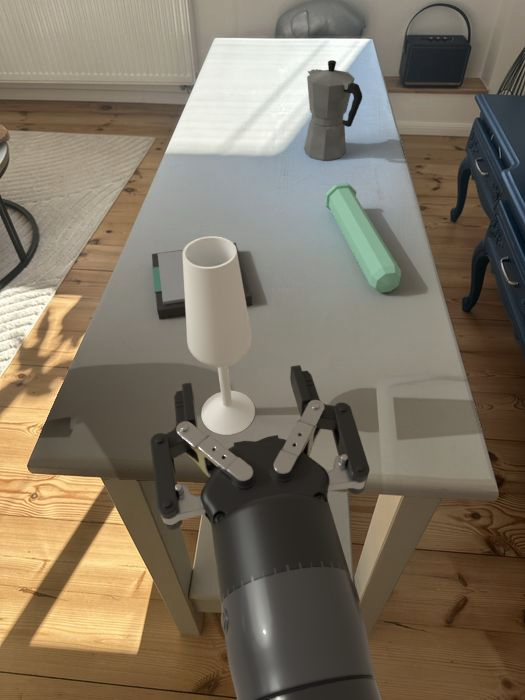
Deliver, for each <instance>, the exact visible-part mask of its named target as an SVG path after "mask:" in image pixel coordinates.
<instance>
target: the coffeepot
mask: <svg viewBox="0 0 525 700" xmlns="http://www.w3.org/2000/svg"><path fill="white" fill-rule="evenodd" d="M336 65H337V61H336V60H332V59H330V60H328V61H327V69H317V68H316V69H311V70H307V73H308V75H307V76H306V81H307V94H308V106H309V107H308V108H309V112H310V113H311V117H310V118H311V119H310V120H309V123H308V127H307V132H306V137H305V141H304V147H303V150H304V152H305V155H307V156H308V157H309V158H311V159H314V160H318V161H334V160H338V159H339V158H342V157H343V156H344V154H345V153H346V151H347V147H346V129H345V128H346V127H347V128H350V127H351V126H352V125H353V122H354V120H355V117H356V115H357V113H358V110H359V107H360V105H361V103H362V100H363V92H362V90H361V87H360V85H359V84H358V83H355V79H356V78H355V77H354V76H353V75H352V74H351V73H349V71H343V70H338V69H336ZM351 95H352V96H353V98H352V102H351V106H350V110H349V111H348V114H347V120H346V119H344V115H345V114H346V113H347V109H348V106H349V102H350V98H351Z"/></svg>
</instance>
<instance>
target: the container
mask: <svg viewBox="0 0 525 700" xmlns="http://www.w3.org/2000/svg"><path fill="white" fill-rule="evenodd" d="M324 206H325V207H326V208H327V209H328V210H329V211H330V212H331V214H332V215H333V217H334V219H335V221H336V223H337V225H338V227H339V228H340V230H341V233H342V235H343V236H344V238H345V240H346V242H347V244H348V245H349V247H350V249H351V251H352V254H353V255H354V257H355V259H356V261H357V263H358V265H359V267H360V269H361V271H362V273H363V275H364V276H365V278H366V280H367V282H368V284H369V286H371V287H372V288H373V289H374V290H376V291H377V292H379V293H380V294H382V293H389V292H392V291H393V290H394V289H396V288H397V287H399V286H400V281H401V278H402V270H401V269H400V267H399V265H398V263H397V262H396V260H395V259H394V257H393V256H392V254H391V251H390V250H389V249H388V247H387V245H386V244H385V242H384V240H383V239H382V237H381V235H380V234H379V232H378V230H377V229H376V227H375V226H374V224H373V222H372V220H371V218H370V217H369V215H368V213H367V212H366V211H365V209H364V207H363V205H362V204H361V202H360V201H359V199H358V197H357V191H356V189H355V188H354V187H353V186H352V185H351V184H349V182H344V183H343V182H342V183H335V184H334V185H333V186H332V187H331V188H330V189H329V190H328V191H327V192H326V193H325V201H324Z"/></svg>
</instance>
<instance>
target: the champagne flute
mask: <svg viewBox="0 0 525 700" xmlns="http://www.w3.org/2000/svg"><path fill="white" fill-rule="evenodd" d="M233 243H234V242H233V241H231V240H230V239H228V238H225V237H221V236H215V235H211V236H210V235H209V236H202V237H199V238H196V239H193V240H191V241H190V242H188V243H187V244H186V245H185V246H184V248H183V249H182V250H183V273H184V291H185V309H186V315H185V325H186V326H185V327H186V342H187V348H188V350H189V352H190V354H191V355H192V357H194V358H195V359H196V360H197V361H199V362H200V363H201V364H204V365H206V366H209V367H211V368H216V369H217V373H218V380H219V388H220V392H217V393H214V394H212V395H211V396H209V397H208V398H207V399H206V401H205V402H204V403H203V405H202V408H201V412H200V413H201V414H200V416H201V420H202V422H203V424H204V426H205V427H206V428H207V429H208V430H210V431H211V432H213V433H215V434H218V435H223V436H230V435H236V434H240V433H241V432H243V431H245V430H246V429H247V428H248V427H250V425H251V424H252V423H253V421H254V419H255V415H256V407H255V404H254V402H253V400H252V399H251V398H250V397H249V396H248V395H246V394H245V393H243V392H240V391H237V390H232V389H231V388H232V387H231V381H230V380H231V379H230V370H229V369H230V368H229V367H231V366H233V365H235V364H237V363H238V362H240V361H241V360H242V359H243V358H244V357H245V356H246V354H247V353H248V352H249V350H250V348H251V345H252V342H253V334H252V328H251V323H250V317H249V311H248V306H247V305H246V300H245V294H244V288H243V283H242V277H241V272H240V266H239V260H238V255H237V249H238V248H237V249H236V246H235V245H234V244H233Z"/></svg>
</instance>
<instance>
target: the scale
mask: <svg viewBox="0 0 525 700" xmlns="http://www.w3.org/2000/svg"><path fill="white" fill-rule="evenodd" d="M232 243H233V244H234V245H235V246H236V249H237V255H238V260H239V266H240V272H241V277H242V283H243V288H244V294H245V300H246V305H247V307H248V306H252V305H253V294H252V292H251V289H250V286H249V282H248V279H247V276H246V272H245V269H244V266H243V262H242V259H241V255H240V252H239V250H238V246H237V242H232ZM183 250H184V249H177V250H171V251H163V252H156V253H151V261H152V267H151V269H152V270H151V271H152V280H153V290H154V294H155V302H156V312H157V316H158V319H159V320H162V319H163V320H165V319H170V318H175V317H176V318H177V317H181V316H182V317H183V316H186V309H185V291H184V273H183Z"/></svg>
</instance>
